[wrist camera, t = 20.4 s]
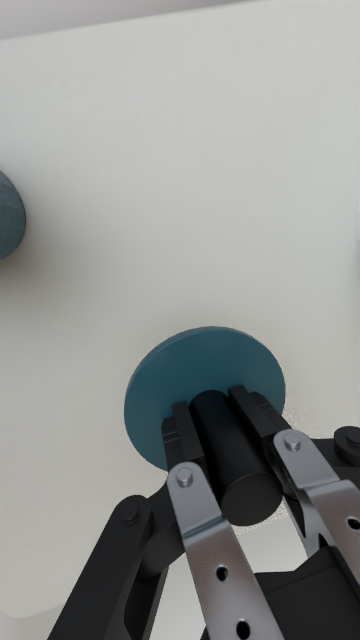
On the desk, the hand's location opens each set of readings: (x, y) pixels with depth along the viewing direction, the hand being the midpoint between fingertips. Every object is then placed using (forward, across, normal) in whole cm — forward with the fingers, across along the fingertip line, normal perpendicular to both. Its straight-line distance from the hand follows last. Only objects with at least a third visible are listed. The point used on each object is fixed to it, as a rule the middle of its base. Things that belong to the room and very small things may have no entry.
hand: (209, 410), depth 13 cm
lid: (+1, 0, 0) cm, 1 cm away
